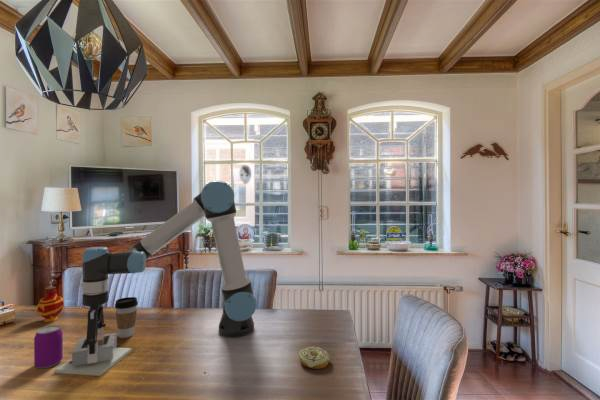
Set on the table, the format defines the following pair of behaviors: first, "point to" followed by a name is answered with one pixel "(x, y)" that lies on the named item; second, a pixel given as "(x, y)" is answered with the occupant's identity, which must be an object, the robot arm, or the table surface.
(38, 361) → the beverage can
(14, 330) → the table surface
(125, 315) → the coffee cup
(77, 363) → the square frame
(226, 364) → the table surface
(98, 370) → the post board
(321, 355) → the decorated donut
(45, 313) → the potion bottle
